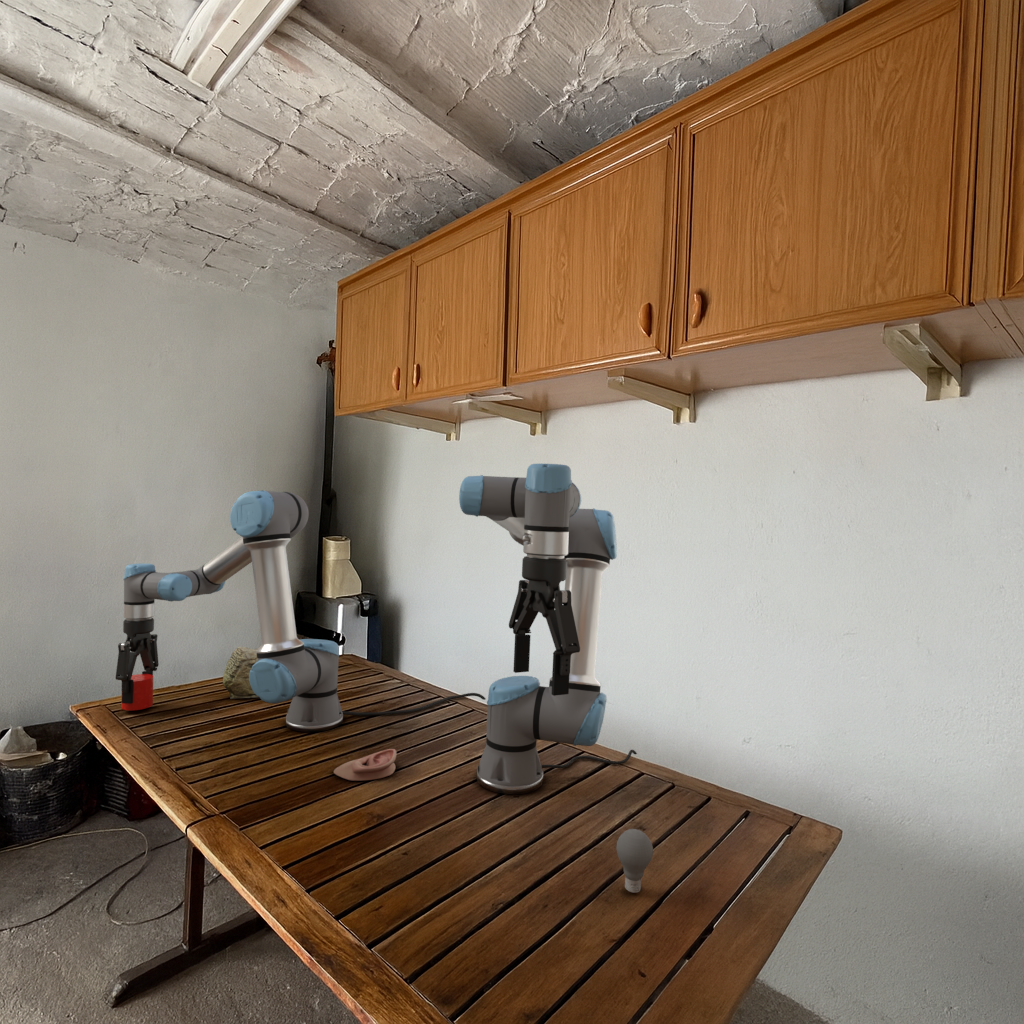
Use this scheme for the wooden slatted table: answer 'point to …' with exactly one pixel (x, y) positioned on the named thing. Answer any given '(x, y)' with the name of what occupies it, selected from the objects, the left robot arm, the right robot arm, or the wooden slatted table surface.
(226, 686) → the fossil
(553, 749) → the wooden slatted table surface
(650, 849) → the light bulb
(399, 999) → the wooden slatted table surface
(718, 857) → the wooden slatted table surface
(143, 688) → the cylinder
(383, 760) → the anatomical model
